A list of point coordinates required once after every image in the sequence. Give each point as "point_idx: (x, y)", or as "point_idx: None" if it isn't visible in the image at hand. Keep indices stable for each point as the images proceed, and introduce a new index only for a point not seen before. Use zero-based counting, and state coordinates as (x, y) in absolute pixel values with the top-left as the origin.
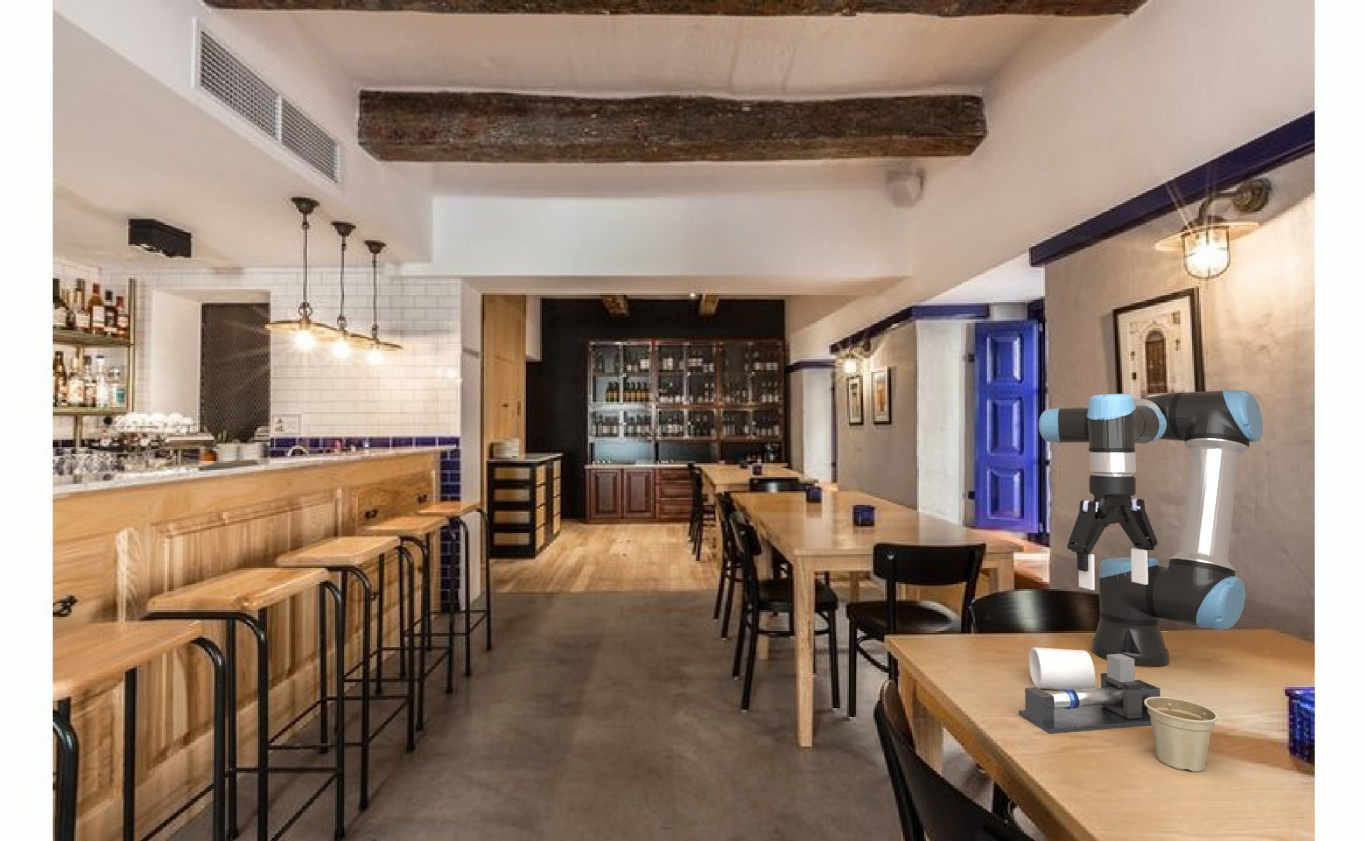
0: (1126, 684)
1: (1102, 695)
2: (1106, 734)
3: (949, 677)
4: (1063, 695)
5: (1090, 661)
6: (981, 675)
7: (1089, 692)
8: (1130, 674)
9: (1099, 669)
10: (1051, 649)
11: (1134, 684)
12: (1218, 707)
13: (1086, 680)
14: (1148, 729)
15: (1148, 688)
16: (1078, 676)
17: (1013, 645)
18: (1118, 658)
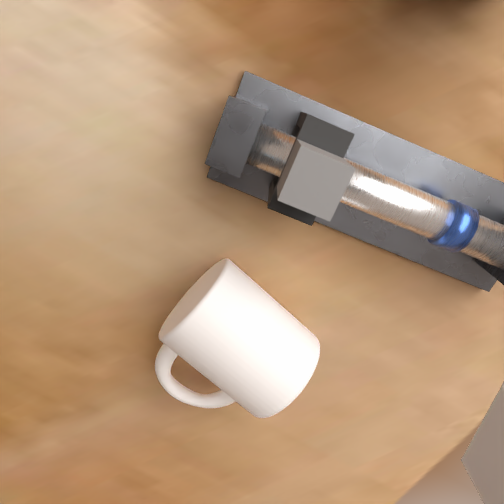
0: (351, 137)
1: (385, 178)
2: (442, 127)
3: (390, 460)
4: (489, 228)
5: (216, 292)
6: (320, 434)
7: (415, 200)
8: (312, 146)
9: (39, 323)
10: (256, 380)
11: (329, 124)
12: (18, 47)
13: (244, 273)
14: (327, 84)
15: (257, 115)
16: (257, 289)
17: (74, 487)
18: (343, 179)
